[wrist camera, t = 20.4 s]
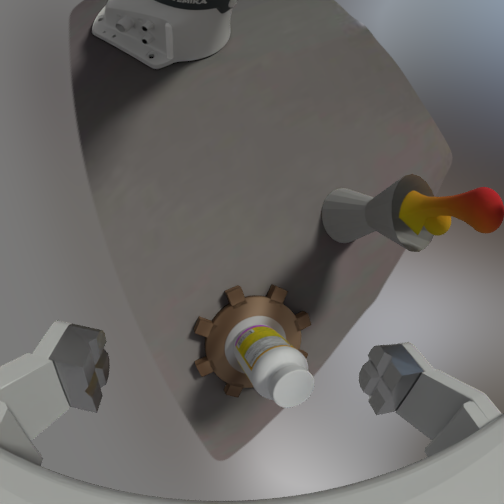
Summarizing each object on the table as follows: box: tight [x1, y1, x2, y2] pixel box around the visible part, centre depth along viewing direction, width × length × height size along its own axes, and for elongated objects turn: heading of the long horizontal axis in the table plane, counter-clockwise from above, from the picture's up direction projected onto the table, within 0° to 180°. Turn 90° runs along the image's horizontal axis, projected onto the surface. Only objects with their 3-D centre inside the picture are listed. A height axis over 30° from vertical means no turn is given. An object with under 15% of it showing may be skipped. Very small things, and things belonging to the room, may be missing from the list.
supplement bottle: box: [234, 324, 315, 408], centre depth 32 cm, size 7×7×13 cm
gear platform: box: [194, 285, 311, 397], centre depth 39 cm, size 18×18×2 cm
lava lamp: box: [322, 174, 504, 252], centre depth 26 cm, size 9×9×35 cm
